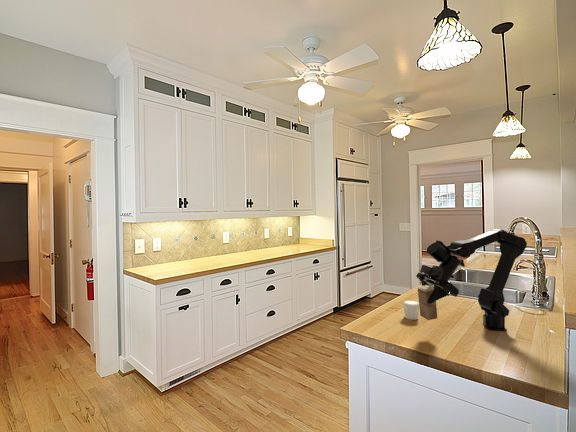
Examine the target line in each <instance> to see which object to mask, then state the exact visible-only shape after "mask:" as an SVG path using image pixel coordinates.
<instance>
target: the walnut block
mask: <svg viewBox="0 0 576 432" xmlns="http://www.w3.org/2000/svg"><path fill="white" fill-rule="evenodd" d="M433 291H434V286H429V285H422V284H421V285H418V286H417V295H418V302H419V315H420V317H422V318H423V319H425V320H427V321H431V320H436V319H437V320H438V309H437V301H435V302H433V303H431V304H428V303H427V302H428V300H429V298H430V296H431V294H432V293H433Z"/></svg>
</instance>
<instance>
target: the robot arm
mask: <svg viewBox="0 0 576 432" xmlns="http://www.w3.org/2000/svg"><path fill="white" fill-rule="evenodd" d="M495 242H496V243H498V244H499V252H500V257H499V259H498V262H497V264H496V267H495V269H494V272H493V274H492V277H491V280H490V282H489V285H488V286H487V287H485V288H483V287H481V289H480V290H479V294H478V295H477V302H478V305H479V306H480V309H481V310H482V311H484V314H482V316H483V317H482V321H483V322H482V324H483V326H484V327H486V328H487V330H490V331H505V332H506V331H507V330H508V329H507V328H506V327H505V326H506V321H505V320H506V319H505V318H506V317H507V316H509V314H510V309H509V308H508V307H507V306H506V305H505V304H504V303H505V295H504V289H505V286H506V284H507V282H508V279H509V276H510V274H511V271H512V269H513V266H514V263H515V260H516V259H518V257H519V258H520V256H521V255H523V254H524V252H525V250H526V248H527V245H528V243H527V241H526V239H525V238H524V237H523V236H519V235H516V234H513V233H512V232H511V233H510V232H508V231H506V230H505V229H502V228H501V229H500V228H493V229H490V230H489V231H486V232H484V233H481V234H479V235H477V236H476V235H475V237H472V238H469V239H461V240H455V241H452V242H450V244H447V245H445V244H444V242H443V241H441V240H440V239H439V240H438V239H436V240H435V242H433V243H431V244H430V245H428V246H427V248H426V253H427V254H428V255H429V256H430V257H432V258H433V259H434V260H435V261H436V262H438V263H439V265H433V266H432V267H431V266H429V265H426V264H421V267H420V270H419V272H418V273H417V274H416V275H415V277H416V278H417V279H418V280H419V281H420V283H421V286H422V285H429V286H431V287H434V291H433V293H432V294H431V296H430V298H429V300H428V302H427V303H428V304H431V303H433V302H435V301H436V302H437V301H439V300H441V299H443V298H446V297H450V295H451V296H452V297H455V298H456V297H458V295H459V294H460V290H459V288H458V287H457V286H455V285H454V284H453V283H452V282H450V279H454V278H455V276H454V273H455V271H457V269H458V267H462V268H465V267H466V265H465V264H466V263H464V259H462V258H469V257H470V256H472V255H473V254H475V253H476V251H477V250H478V249H481V248H483V247H485V246H488V245H491V244H493V243H495ZM459 257H460V258H459Z"/></svg>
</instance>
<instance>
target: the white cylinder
mask: <svg viewBox="0 0 576 432" xmlns="http://www.w3.org/2000/svg"><path fill="white" fill-rule="evenodd" d="M402 304H403V312H404V313H403V314H404V318H405V319H407V320H412V321H413V320H414V321H415V320H418V319H419V313H420V307H419V301H416V300H412V299H408V300H407V299H405V300H403V301H402Z"/></svg>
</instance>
